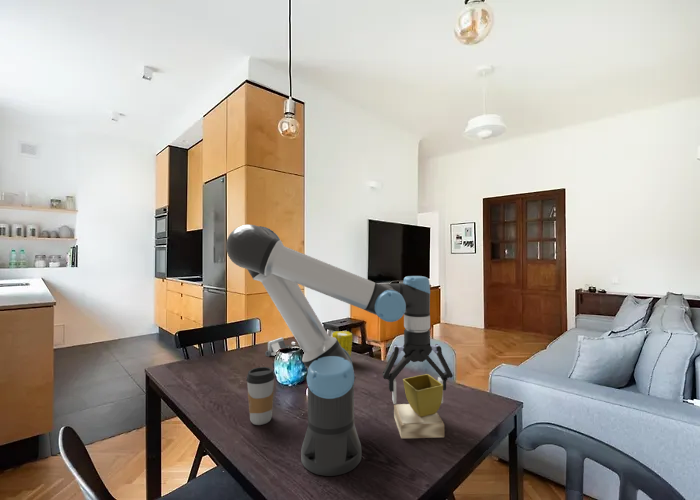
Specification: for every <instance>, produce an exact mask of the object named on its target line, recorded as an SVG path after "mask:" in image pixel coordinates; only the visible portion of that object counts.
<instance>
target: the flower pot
mask: <svg viewBox="0 0 700 500" xmlns="http://www.w3.org/2000/svg"><path fill="white" fill-rule="evenodd" d="M402 382H403V388H404V393H405V398H406V400H407V402H408V404H410V406H411V408H412V409H413V410H414V411H415V412H416V413H417V414H418V415H419V416H420V417H423V416H427V415H431V414H435V413H436V412H437V413H438V411H439V409H440V408H441V405H442V403H441V402H442V394H443V395H444V390H443V384H441V383H440V382H439V381H438V379H435V378H434V376H431V375H430V374H428V373H425V374H419V375H415V376H410V377H406V378H402Z"/></svg>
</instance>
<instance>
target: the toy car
mask: <svg viewBox="0 0 700 500" xmlns="http://www.w3.org/2000/svg"><path fill="white" fill-rule="evenodd" d="M290 343H291V345H292V346H293V347H294V348H295V345H297V344H298V342H297V341H296V342H295V341H291V342H290ZM297 346H298V347H299V348H300V346H299V344H298V345H297ZM286 347H290V345H286V343H285V340H284V338H283V337H279V338H276V339H273V340H271V341H267V350H266V351H265V353H264V354H265V357H271V356H274V357H276V356H275V355H276V352H277V351H278V350H279V349H281V348H286ZM293 347H292V348H293Z"/></svg>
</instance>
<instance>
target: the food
mask: <svg viewBox="0 0 700 500" xmlns="http://www.w3.org/2000/svg"><path fill="white" fill-rule="evenodd" d="M331 335H332V336H331V337H335V338H336V339H337V340H338V342H339V344H340V345H341V347H342V348H343V349H344V350H346V352H347V353H348V354H349V356H350V357H351V355H352V348H353V347H352V346H353V338H354V337H353V333H352V332H350V331H349V330H348V331H347V330H344V331H343V330H342V331H341V330H340V331H337V330H336V331H333V332H332V334H331Z"/></svg>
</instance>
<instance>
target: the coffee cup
mask: <svg viewBox="0 0 700 500" xmlns="http://www.w3.org/2000/svg"><path fill="white" fill-rule="evenodd" d="M274 380H275V372H274V370H273V368H271V367H268V366H260V367H254V368H251V369H250V370H248V372H247V374H246V383H247V398H248V399H247V401H248V412H249V420H250V423H252V425H255V426H261V425H262V426H263V425H265V424H268V423H269V422H270V421H271V420H272V416H273V415H272V414H273V407H274V406H273V405H274V403H273V402H274V383H275V381H274Z"/></svg>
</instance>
